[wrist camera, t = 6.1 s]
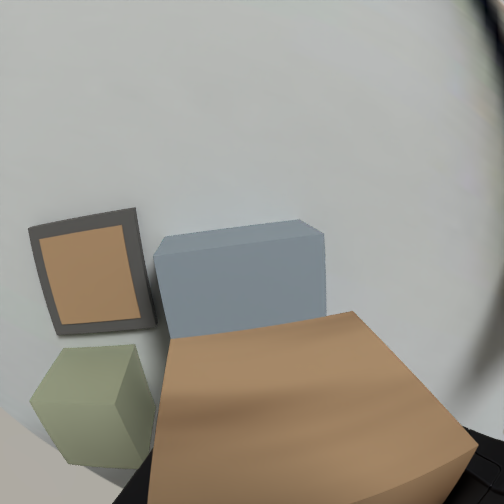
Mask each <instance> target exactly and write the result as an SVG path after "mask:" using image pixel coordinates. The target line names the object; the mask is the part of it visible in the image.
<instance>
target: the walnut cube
mask: <svg viewBox="0 0 504 504" xmlns="http://www.w3.org/2000/svg"><path fill="white" fill-rule="evenodd" d="M477 447H478V443H477V442H476V441H475V440H474V439H473V438H472V437H471V436H470V435H469V433H468V432H467V431H466V430H465V429H464V428H463V427H462V426H461V425H460V423H459V422H458V421H457V420H456V419H455V418H454V417H453V416H452V415H451V414H450V413H449V411H448V410H447V409H446V408H445V407H444V406H443V405H442V404H441V403H440V402H439V401H438V400H437V398H436V397H435V396H434V395H433V394H432V393H431V392H430V391H429V390H428V389H427V388H426V387H425V386H424V384H423V383H422V382H421V381H420V380H419V379H418V378H417V377H416V376H415V375H414V374H413V373H412V372H411V371H410V370H409V369H408V368H407V366H406V365H405V364H404V363H403V362H402V361H401V360H400V359H399V358H398V357H397V356H396V355H395V354H394V353H393V352H392V351H391V350H390V349H389V348H388V347H387V346H386V345H385V344H384V342H383V341H382V340H381V339H380V338H379V337H378V336H377V335H376V334H375V333H374V332H373V331H372V330H371V329H370V328H369V327H368V326H367V325H366V324H365V323H364V322H363V321H362V320H361V319H360V318H359V317H358V316H357V315H356V314H355V313H354V312H353V311H350V312H345V313H340V314H335V315H330V316H325V317H320V318H314V319H309V320H303V321H297V322H292V323H286V324H280V325H273V326H267V327H261V328H254V329H247V330H240V331H233V332H226V333H218V334H210V335H202V336H194V337H185V338H176V339H171V340H170V345H169V351H168V356H167V362H166V368H165V374H164V380H163V386H162V392H161V399H160V405H159V412H158V419H157V426H156V433H155V440H154V448H153V456H152V464H151V473H150V482H149V492H148V502H147V504H443V502H444V501H445V500H446V498H447V497H448V495H449V494H450V492H451V491H452V489H453V488H454V486H455V485H456V483H457V481H458V480H459V478H460V477H461V475H462V473H463V472H464V470H465V468H466V467H467V465H468V463H469V462H470V460H471V458H472V456H473V454H474V453H475V451H476V449H477Z"/></svg>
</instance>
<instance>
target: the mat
mask: <svg viewBox="0 0 504 504" xmlns="http://www.w3.org/2000/svg"><path fill="white" fill-rule="evenodd" d="M28 231H29V236H30V241H31V246H32V251H33V255H34V259H35V263H36V268H37V271H38V275H39V279H40V283H41V286H42V290H43V294H44V297H45V300H46V304H47V307H48V310H49V313H50V316H51V319H52V322H53V325H54V328H55V331H56V334H57V335H64V334H81V333H96V332H109V331H121V330H132V329H143V328H153V327H156V326H157V323H158V322H157V318H156V313H155V309H154V304H153V300H152V295H151V291H150V286H149V281H148V276H147V271H146V266H145V261H144V255H143V250H142V244H141V239H140V233H139V227H138V220H137V214H136V207H135V208H129V209H123V210H117V211H111V212H105V213H99V214H94V215H88V216H83V217H78V218H72V219H67V220H62V221H57V222H52V223H47V224H42V225H37V226H33V227H30V228H28Z"/></svg>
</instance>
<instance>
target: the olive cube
mask: <svg viewBox="0 0 504 504" xmlns="http://www.w3.org/2000/svg"><path fill="white" fill-rule="evenodd" d="M29 402H30V403H31V405H32V407H33V409H34V411H35V412H36V414H37V416H38V418H39V419H40V421H41V423H42V424H43V426H44V428H45V429H46V431H47V433H48V434H49V436H50V437H51V439H52V440H53V442H54V444H55V445H56V447H57V448H58V450H59V451H60V453H61V454H62V455H63V457H64V458H65V460H66V461H67V463H68V464H72V465H81V466H92V467H104V468H123V469H138V468H139V467H140V465H141V464H142V463H143V461H144V460H145V459H146V457H147V456H148V454H149V448H150V441H151V434H152V427H153V421H154V414H155V408H156V406H155V404H154V401H153V398H152V395H151V392H150V390H149V387H148V384H147V381H146V378H145V375H144V372H143V368H142V365H141V362H140V359H139V356H138V352H137V349H136V346H135V344H131V345H118V346H102V347H83V348H63V350H62V351H61V353H60V354H59V356H58V357H57V359H56V360H55V362H54V363H53V365H52V366H51V368H50V369H49V371H48V372H47V374H46V375H45V377H44V378H43V380H42V382H41V383H40V385H39V386H38V388H37V389H36V391H35V393H34V394H33V396H32V397H31V399H30V401H29Z"/></svg>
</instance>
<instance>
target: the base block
mask: <svg viewBox="0 0 504 504" xmlns="http://www.w3.org/2000/svg"><path fill="white" fill-rule="evenodd" d="M153 258H154V263H155V268H156V273H157V279H158V284H159V288H160V293H161V298H162V303H163V307H164V312H165V316H166V321H167V325H168V329H169V333H170V338H171V339H176V338H185V337H194V336H202V335H210V334H218V333H226V332H233V331H240V330H247V329H254V328H261V327H267V326H273V325H280V324H286V323H292V322H297V321H303V320H309V319H314V318H320V317H325V316H326V270H325V244H324V233H322V232H320V231H319V230H317V229H315V228H313V227H312V226H310V225H308V224H306V223H305V222H303V221H301V220H291V221H283V222H274V223H266V224H258V225H250V226H242V227H234V228H226V229H218V230H211V231H203V232H196V233H189V234H181V235H174V236H167V237H165V238H164V239H163V241H162V242H161V244H160V246H159V247H158V249H157V251H156V252H155V254H154V256H153Z"/></svg>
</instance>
